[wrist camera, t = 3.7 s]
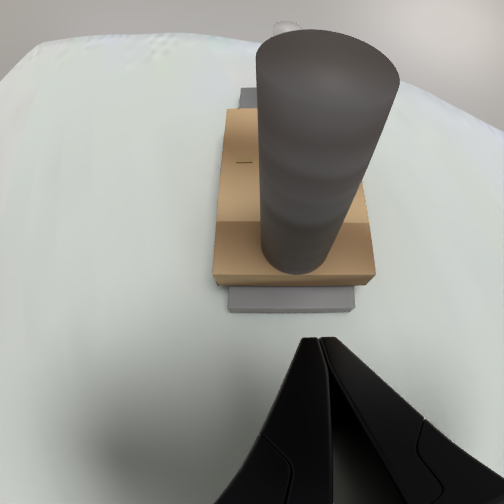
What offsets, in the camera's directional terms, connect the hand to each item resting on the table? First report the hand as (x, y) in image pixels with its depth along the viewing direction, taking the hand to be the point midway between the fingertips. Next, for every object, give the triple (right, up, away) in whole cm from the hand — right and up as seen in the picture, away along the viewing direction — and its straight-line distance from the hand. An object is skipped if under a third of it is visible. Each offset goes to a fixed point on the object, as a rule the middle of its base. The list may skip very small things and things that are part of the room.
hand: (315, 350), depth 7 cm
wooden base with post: (0, +5, +9) cm, 11 cm away
